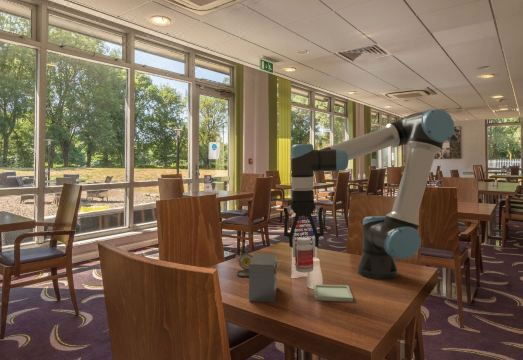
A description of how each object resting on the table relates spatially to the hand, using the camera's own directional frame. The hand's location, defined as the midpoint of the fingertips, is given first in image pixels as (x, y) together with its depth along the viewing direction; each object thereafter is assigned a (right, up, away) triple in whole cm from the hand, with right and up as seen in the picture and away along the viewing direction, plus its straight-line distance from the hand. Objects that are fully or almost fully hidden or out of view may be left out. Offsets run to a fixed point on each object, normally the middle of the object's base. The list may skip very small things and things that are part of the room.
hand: (304, 256), depth 128 cm
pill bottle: (0, -5, 0) cm, 5 cm away
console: (-14, -12, -3) cm, 19 cm away
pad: (+9, -12, -3) cm, 16 cm away
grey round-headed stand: (-21, -11, +19) cm, 31 cm away
